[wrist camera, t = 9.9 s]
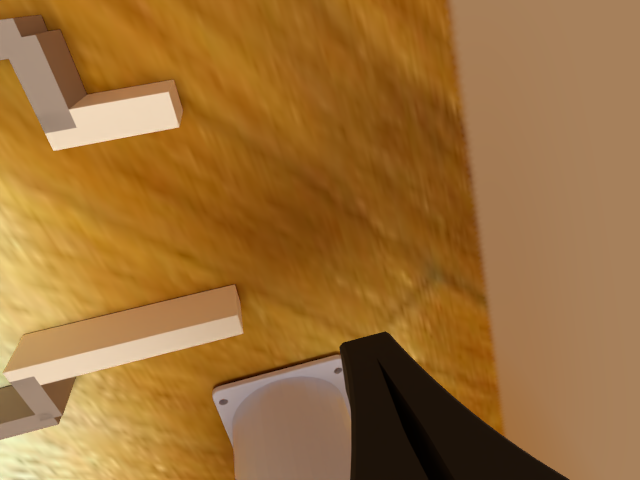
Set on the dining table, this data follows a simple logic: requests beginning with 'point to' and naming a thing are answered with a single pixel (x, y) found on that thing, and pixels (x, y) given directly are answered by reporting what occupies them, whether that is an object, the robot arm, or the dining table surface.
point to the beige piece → (118, 328)
